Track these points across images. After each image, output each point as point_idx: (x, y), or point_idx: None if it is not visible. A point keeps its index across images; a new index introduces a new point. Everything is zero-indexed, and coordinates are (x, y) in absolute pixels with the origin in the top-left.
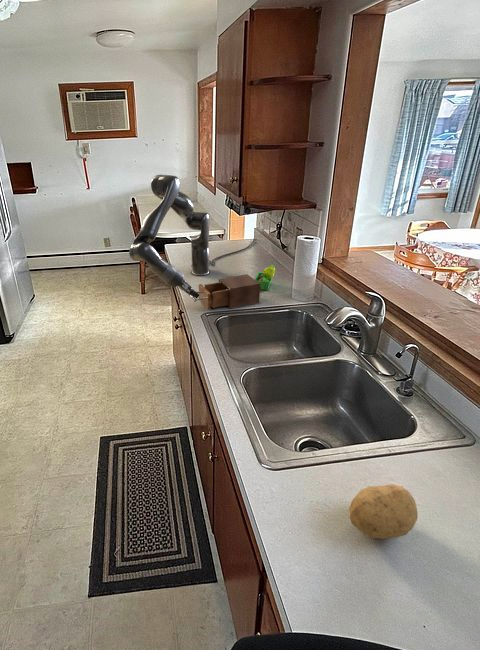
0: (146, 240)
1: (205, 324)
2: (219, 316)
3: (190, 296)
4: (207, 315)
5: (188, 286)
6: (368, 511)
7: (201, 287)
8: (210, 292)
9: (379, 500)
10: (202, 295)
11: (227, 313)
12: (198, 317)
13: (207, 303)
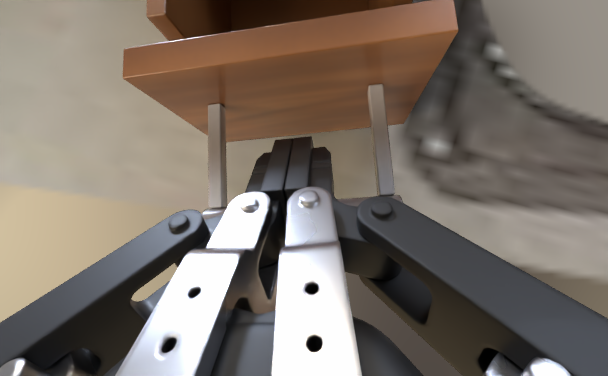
0: None
1: (603, 204)
2: (492, 74)
3: None
4: (453, 149)
5: (355, 327)
6: None
7: (218, 66)
8: (214, 27)
9: None
10: (273, 106)
11: (460, 14)
12: (468, 220)
13: (398, 104)
